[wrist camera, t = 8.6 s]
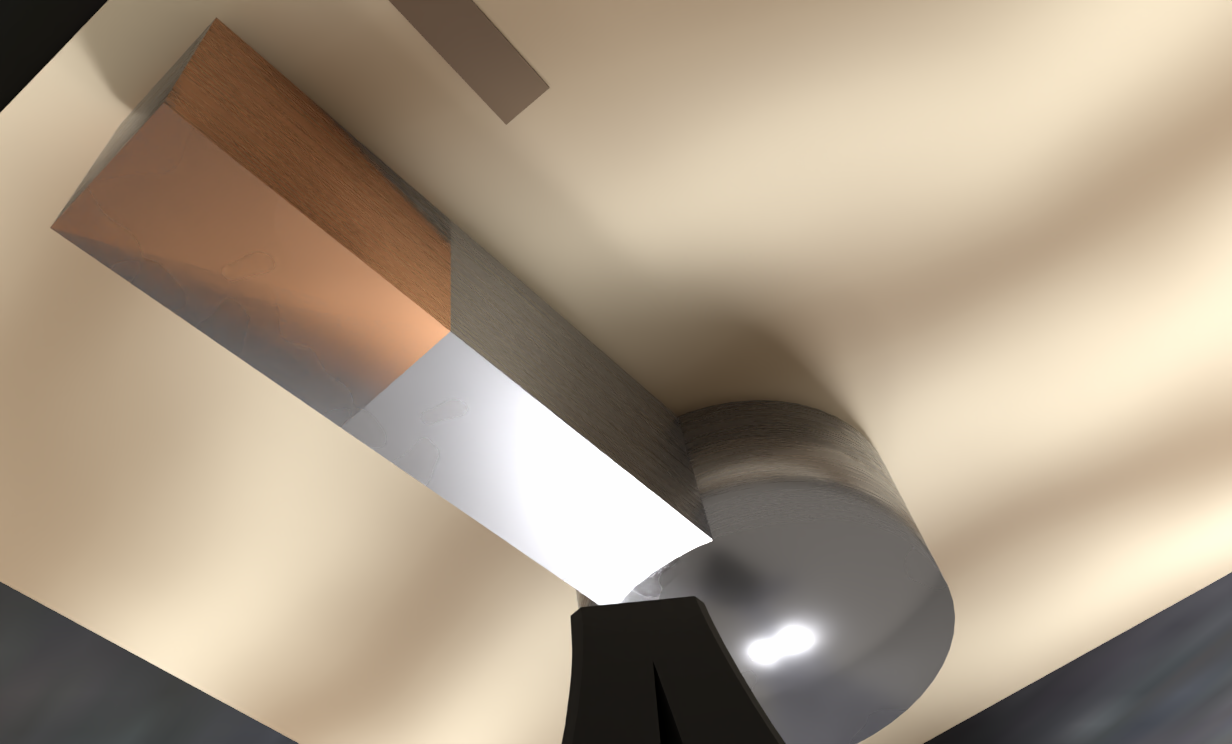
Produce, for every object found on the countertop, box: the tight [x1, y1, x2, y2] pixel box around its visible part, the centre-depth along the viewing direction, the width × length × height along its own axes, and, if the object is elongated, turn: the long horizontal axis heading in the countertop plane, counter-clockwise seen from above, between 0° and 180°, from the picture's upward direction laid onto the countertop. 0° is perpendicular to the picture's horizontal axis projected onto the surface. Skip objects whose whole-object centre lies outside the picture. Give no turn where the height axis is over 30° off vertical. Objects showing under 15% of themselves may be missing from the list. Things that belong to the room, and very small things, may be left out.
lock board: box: [0, 0, 1232, 744], centre depth 19 cm, size 22×22×2 cm
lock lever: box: [50, 17, 955, 744], centre depth 16 cm, size 15×6×3 cm, turn 41°
